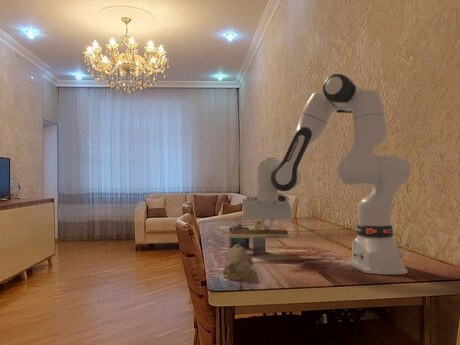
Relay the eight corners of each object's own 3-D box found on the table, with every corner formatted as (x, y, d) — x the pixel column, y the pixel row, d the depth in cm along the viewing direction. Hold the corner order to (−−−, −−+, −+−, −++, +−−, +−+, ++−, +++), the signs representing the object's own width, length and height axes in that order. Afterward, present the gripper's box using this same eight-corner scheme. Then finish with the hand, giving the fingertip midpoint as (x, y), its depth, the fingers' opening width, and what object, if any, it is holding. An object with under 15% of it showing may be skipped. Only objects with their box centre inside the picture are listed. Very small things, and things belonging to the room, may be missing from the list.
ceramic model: (262, 278, 125) (262, 246, 125) (227, 281, 121) (227, 248, 122) (247, 269, 138) (247, 239, 138) (215, 271, 135) (215, 241, 135)
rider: (262, 233, 167) (262, 221, 167) (254, 233, 167) (254, 221, 167) (262, 232, 170) (262, 220, 170) (255, 232, 170) (255, 220, 170)
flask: (228, 247, 182) (228, 223, 182) (230, 246, 185) (230, 222, 185) (248, 248, 179) (248, 223, 179) (250, 247, 182) (250, 223, 182)
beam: (288, 254, 164) (288, 227, 164) (229, 253, 166) (229, 226, 166) (287, 251, 170) (287, 225, 170) (231, 250, 172) (231, 224, 172)
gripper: (241, 197, 166) (241, 230, 166) (292, 197, 165) (292, 231, 164) (242, 196, 173) (242, 228, 172) (291, 196, 171) (291, 229, 171)
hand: (267, 230), depth 168 cm, fingers closed
